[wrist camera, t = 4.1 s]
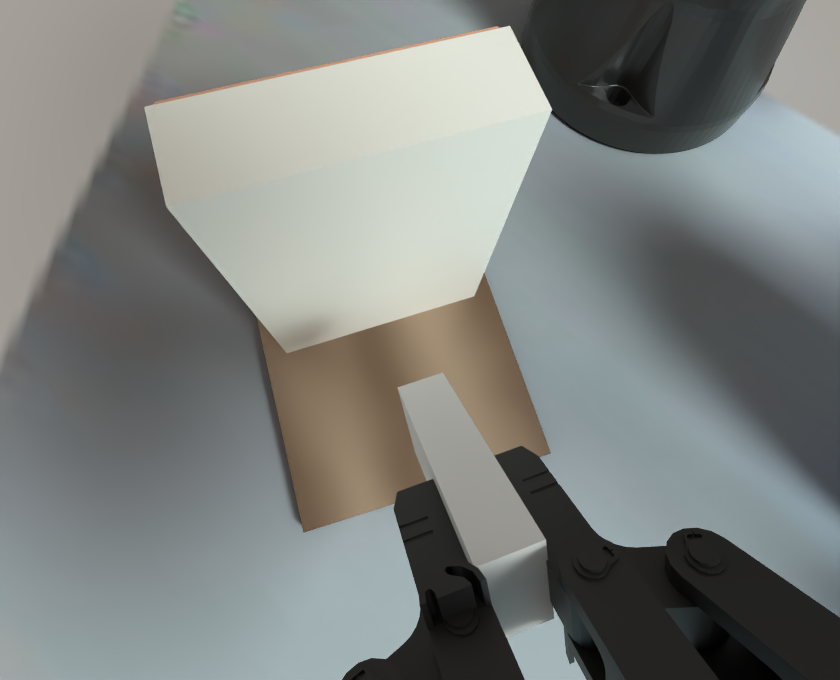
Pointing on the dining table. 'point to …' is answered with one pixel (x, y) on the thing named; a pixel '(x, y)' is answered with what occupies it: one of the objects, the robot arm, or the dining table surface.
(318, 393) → the walnut board
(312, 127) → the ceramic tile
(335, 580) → the dining table surface
